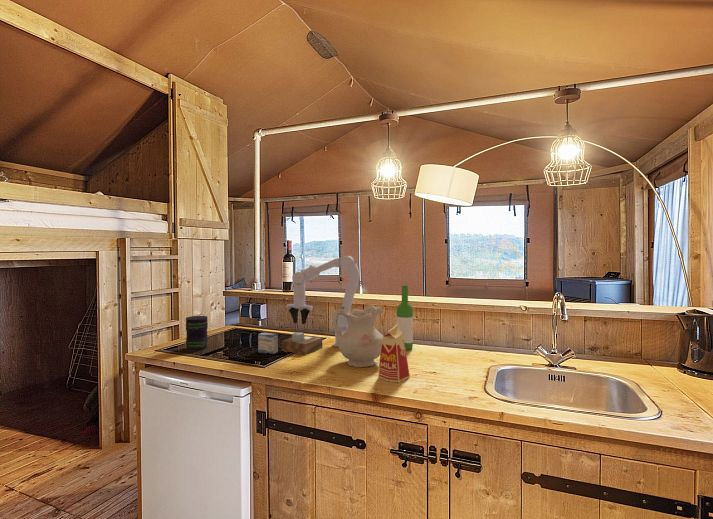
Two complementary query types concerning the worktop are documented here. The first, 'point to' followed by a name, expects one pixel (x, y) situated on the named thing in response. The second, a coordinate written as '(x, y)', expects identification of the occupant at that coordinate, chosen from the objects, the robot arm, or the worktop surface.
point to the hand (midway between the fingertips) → (299, 323)
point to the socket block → (302, 345)
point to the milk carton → (393, 357)
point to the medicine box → (267, 343)
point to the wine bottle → (405, 319)
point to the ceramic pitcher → (359, 336)
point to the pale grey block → (297, 337)
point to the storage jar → (196, 333)
